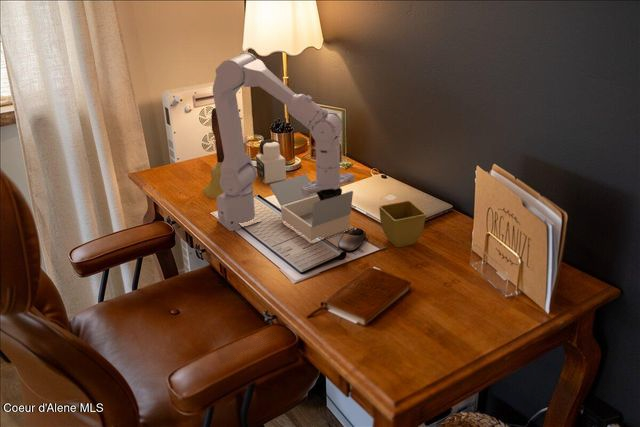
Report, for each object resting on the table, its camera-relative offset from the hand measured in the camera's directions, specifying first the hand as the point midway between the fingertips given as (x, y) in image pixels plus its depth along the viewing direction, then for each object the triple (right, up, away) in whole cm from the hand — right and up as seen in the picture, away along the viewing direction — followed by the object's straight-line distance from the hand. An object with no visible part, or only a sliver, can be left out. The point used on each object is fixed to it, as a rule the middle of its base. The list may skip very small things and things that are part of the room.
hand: (328, 214), depth 149 cm
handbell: (-31, +7, +29) cm, 43 cm away
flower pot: (+18, -7, 0) cm, 19 cm away
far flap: (-9, +7, +11) cm, 16 cm away
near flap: (+1, +2, -2) cm, 3 cm away
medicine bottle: (-17, +11, +36) cm, 41 cm away
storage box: (-3, -3, +7) cm, 8 cm away
